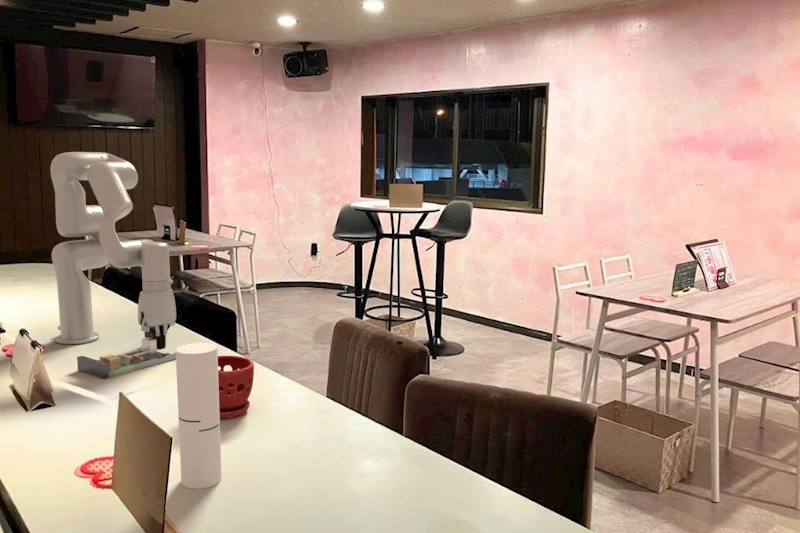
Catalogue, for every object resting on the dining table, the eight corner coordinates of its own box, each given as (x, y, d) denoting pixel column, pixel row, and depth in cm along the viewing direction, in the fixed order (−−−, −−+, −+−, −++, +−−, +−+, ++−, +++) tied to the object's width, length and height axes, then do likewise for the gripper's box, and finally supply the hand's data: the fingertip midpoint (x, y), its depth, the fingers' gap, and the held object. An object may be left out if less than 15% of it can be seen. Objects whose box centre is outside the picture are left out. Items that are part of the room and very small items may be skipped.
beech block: (100, 369, 191) (99, 356, 191) (110, 366, 194) (109, 354, 193) (111, 372, 188) (110, 359, 188) (121, 369, 191) (120, 357, 190)
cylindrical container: (185, 471, 133) (180, 343, 129) (224, 470, 134) (220, 342, 130) (177, 489, 126) (171, 354, 122) (218, 488, 127) (213, 353, 123)
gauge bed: (78, 374, 190) (77, 357, 189) (154, 354, 209) (153, 338, 208) (104, 383, 183) (102, 364, 182) (180, 361, 202) (179, 344, 202)
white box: (119, 362, 196) (118, 343, 195) (147, 355, 203) (146, 337, 202) (136, 367, 191) (135, 348, 191) (164, 360, 199) (163, 341, 198)
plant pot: (203, 426, 155) (201, 373, 153) (191, 407, 167) (189, 358, 165) (261, 416, 161) (260, 366, 159) (246, 399, 173) (244, 351, 171)
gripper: (170, 280, 209) (172, 340, 211) (125, 288, 196) (128, 351, 199) (186, 283, 204) (189, 344, 207) (141, 291, 192) (145, 356, 195)
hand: (159, 348), depth 203 cm, fingers closed
